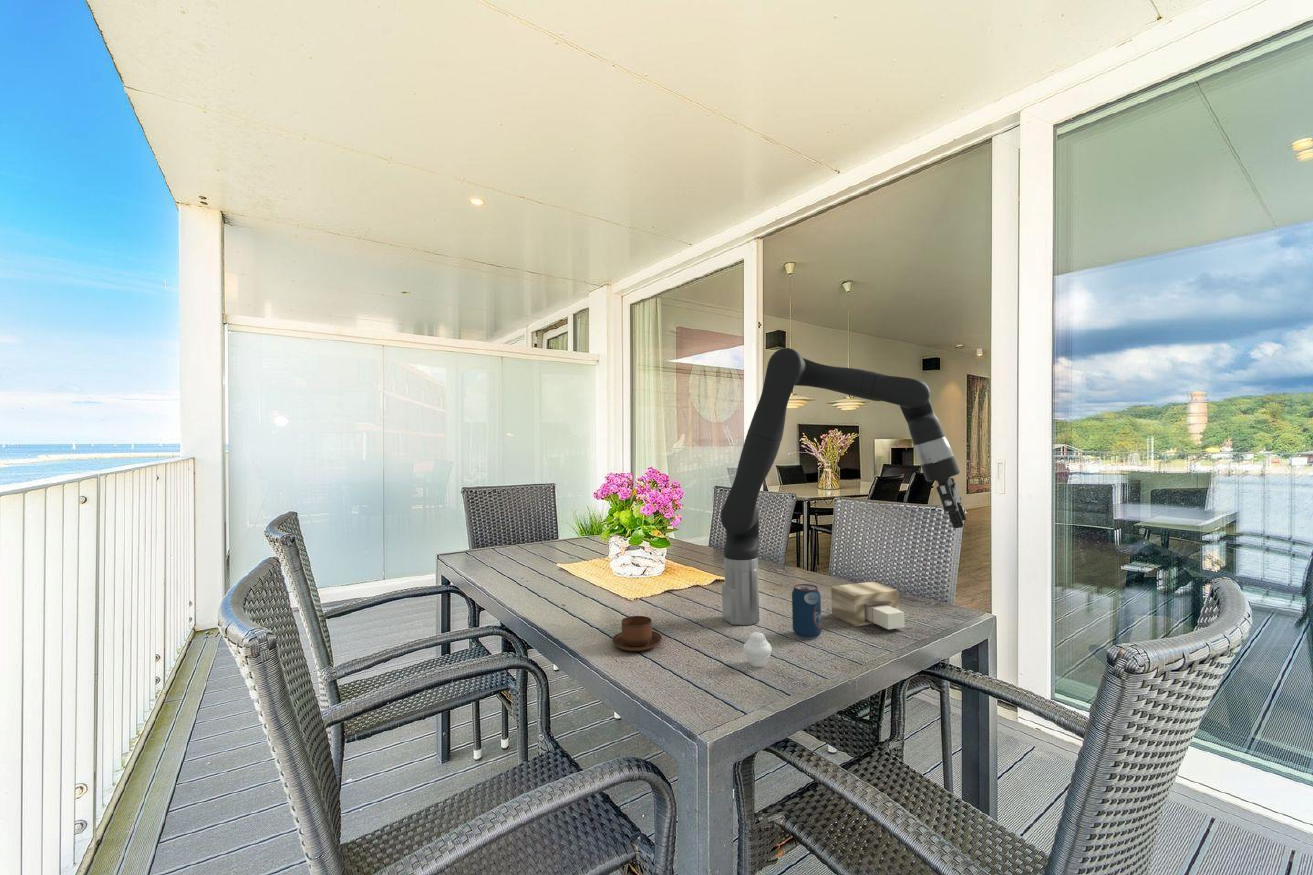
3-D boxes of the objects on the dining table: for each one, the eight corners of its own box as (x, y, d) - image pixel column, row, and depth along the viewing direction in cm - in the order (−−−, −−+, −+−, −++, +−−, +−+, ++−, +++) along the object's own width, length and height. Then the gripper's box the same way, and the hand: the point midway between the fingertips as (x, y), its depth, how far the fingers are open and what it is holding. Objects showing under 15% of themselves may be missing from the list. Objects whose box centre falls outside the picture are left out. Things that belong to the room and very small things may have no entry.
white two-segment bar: (888, 629, 133) (887, 613, 133) (851, 612, 147) (850, 598, 147) (904, 627, 134) (904, 611, 134) (866, 610, 148) (866, 596, 148)
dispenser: (857, 627, 137) (856, 596, 138) (831, 615, 148) (831, 586, 148) (901, 621, 141) (900, 590, 142) (873, 609, 152) (873, 581, 152)
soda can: (823, 640, 129) (821, 590, 129) (793, 639, 130) (792, 589, 130) (820, 630, 136) (818, 583, 136) (792, 629, 137) (790, 582, 137)
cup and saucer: (605, 642, 131) (605, 617, 132) (650, 634, 136) (649, 610, 136) (622, 659, 120) (621, 632, 121) (670, 650, 125) (669, 624, 125)
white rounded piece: (753, 672, 112) (753, 638, 112) (738, 661, 117) (737, 629, 117) (778, 666, 114) (777, 634, 114) (761, 656, 120) (760, 625, 120)
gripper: (923, 460, 136) (946, 522, 134) (915, 466, 124) (940, 533, 122) (955, 452, 132) (979, 515, 130) (950, 456, 120) (976, 526, 118)
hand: (960, 524), depth 126 cm, fingers open, 8 cm apart
